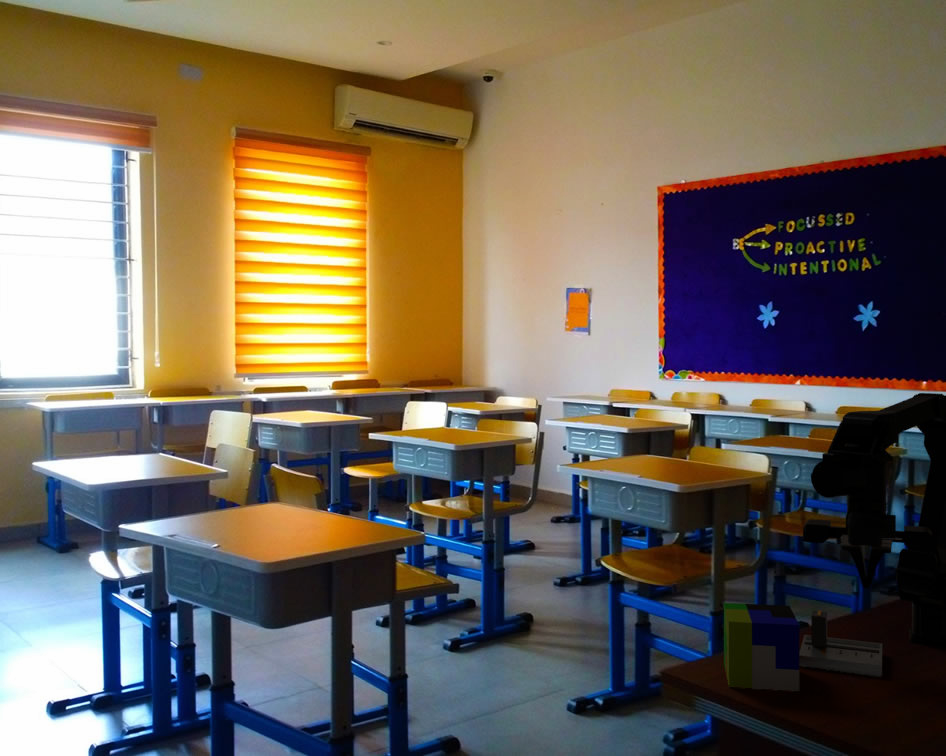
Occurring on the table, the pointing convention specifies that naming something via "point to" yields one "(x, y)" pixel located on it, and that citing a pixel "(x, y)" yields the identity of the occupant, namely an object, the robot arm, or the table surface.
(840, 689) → the table surface
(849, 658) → the console plate
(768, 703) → the table surface
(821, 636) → the fader knob
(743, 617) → the puzzle toy
